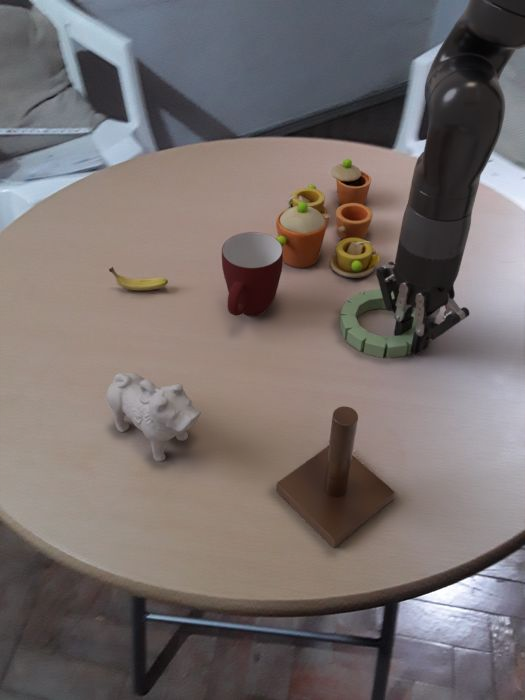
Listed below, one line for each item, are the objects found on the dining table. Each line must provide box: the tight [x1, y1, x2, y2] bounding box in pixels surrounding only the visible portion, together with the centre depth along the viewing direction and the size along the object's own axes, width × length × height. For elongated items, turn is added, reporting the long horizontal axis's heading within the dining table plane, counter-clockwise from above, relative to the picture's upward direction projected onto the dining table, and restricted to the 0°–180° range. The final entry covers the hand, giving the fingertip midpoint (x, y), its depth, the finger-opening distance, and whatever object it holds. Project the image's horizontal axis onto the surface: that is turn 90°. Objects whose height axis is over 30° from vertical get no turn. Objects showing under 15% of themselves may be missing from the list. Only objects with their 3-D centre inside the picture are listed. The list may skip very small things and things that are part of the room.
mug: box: [221, 231, 284, 317], centre depth 92 cm, size 11×8×10 cm
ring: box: [339, 288, 417, 359], centre depth 92 cm, size 12×12×2 cm
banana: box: [108, 266, 169, 291], centre depth 97 cm, size 8×2×4 cm, turn 90°
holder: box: [275, 405, 396, 549], centre depth 69 cm, size 9×9×14 cm
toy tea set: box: [275, 158, 380, 279], centre depth 106 cm, size 26×16×10 cm, turn 174°
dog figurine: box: [105, 372, 202, 462], centre depth 76 cm, size 5×13×11 cm, turn 51°
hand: (409, 344), depth 90 cm, fingers closed on ring, 2 cm apart
